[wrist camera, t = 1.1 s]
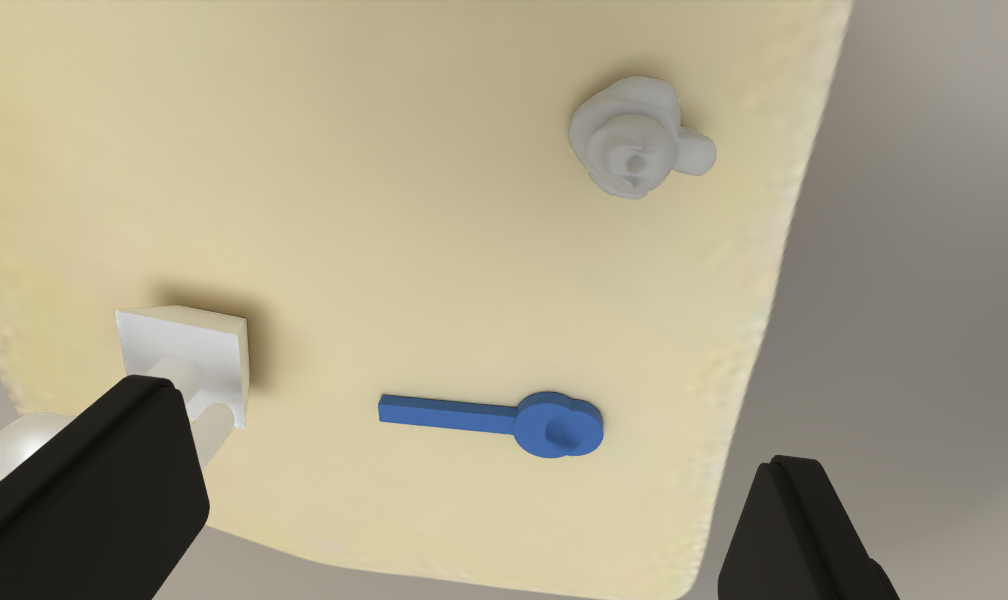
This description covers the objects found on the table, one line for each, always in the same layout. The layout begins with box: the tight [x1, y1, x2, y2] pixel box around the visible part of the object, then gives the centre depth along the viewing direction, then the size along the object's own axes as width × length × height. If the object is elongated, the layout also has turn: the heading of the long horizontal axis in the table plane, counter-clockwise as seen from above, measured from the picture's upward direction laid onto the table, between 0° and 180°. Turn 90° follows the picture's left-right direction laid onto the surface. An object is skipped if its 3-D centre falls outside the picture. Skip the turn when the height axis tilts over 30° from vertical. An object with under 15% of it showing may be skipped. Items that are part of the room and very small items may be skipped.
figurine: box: [0, 305, 250, 481], centre depth 31 cm, size 7×9×15 cm
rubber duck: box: [568, 76, 716, 200], centre depth 25 cm, size 5×7×8 cm
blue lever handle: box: [378, 392, 603, 458], centre depth 38 cm, size 15×5×1 cm, turn 88°
